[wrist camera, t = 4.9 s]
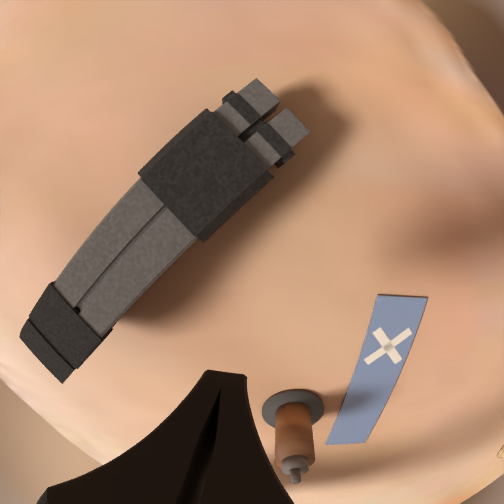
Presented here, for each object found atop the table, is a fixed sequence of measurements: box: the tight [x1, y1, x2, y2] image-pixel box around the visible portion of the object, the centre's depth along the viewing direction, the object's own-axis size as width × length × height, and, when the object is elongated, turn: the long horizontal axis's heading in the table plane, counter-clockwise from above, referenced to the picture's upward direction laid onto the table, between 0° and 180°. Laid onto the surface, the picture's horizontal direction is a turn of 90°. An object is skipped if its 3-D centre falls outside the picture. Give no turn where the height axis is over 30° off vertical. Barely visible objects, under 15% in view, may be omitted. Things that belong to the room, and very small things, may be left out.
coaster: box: [262, 390, 324, 428], centre depth 21 cm, size 5×5×1 cm
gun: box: [20, 78, 310, 384], centre depth 16 cm, size 4×20×10 cm, turn 133°
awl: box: [275, 402, 315, 484], centre depth 18 cm, size 3×3×7 cm
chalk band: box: [326, 295, 427, 445], centre depth 20 cm, size 16×4×1 cm, turn 176°
